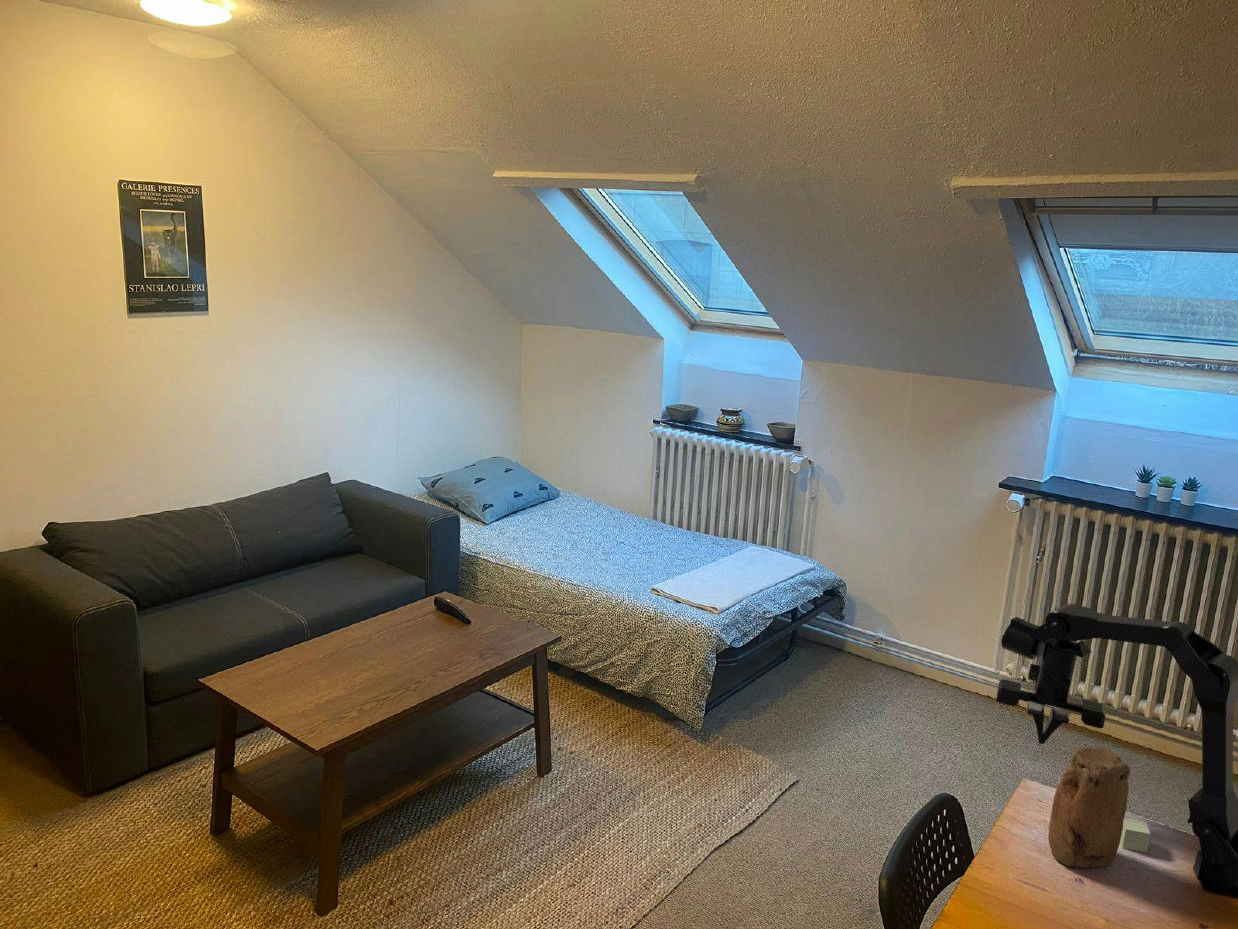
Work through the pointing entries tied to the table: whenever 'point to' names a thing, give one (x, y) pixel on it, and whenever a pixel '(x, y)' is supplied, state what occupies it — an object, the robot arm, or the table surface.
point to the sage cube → (1135, 835)
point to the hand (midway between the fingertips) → (1041, 743)
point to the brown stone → (1089, 809)
